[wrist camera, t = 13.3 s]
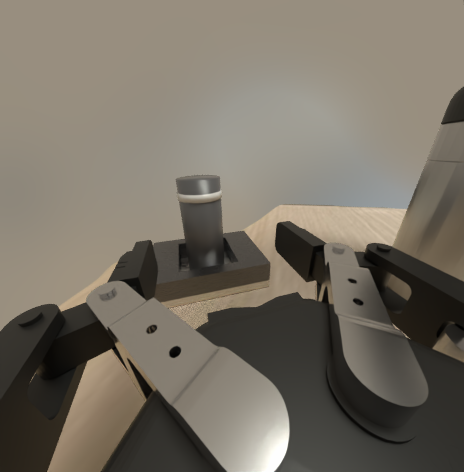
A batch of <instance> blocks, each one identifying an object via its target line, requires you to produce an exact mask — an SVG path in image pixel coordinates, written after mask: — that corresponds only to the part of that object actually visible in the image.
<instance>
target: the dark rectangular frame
mask: <svg viewBox="0 0 464 472" xmlns="http://www.w3.org/2000/svg"><path fill="white" fill-rule="evenodd" d="M223 245H224V263H225V264H221V265H215V266H210V267H204V268H198V269H192V270H190V268H189V262H188V255H187V249H186V242H185V239H180V240H173V241H166V242H159V243H154V246H153V249H154V252H155V256H156V260H157V265H158V276H157V283H156V289H155V295H154V298H155V299H156V300H158V301H159V302H160V303H162V304H163V305H164V306H165V307H167V308H171V307H176V306H180V305H185V304H190V303H194V302H199V301H204V300H208V299H213V298H218V297H222V296H227V295H232V294H236V293H241V292H246V291H250V290H255V289H260V288H264V287H269V276H270V262H269V261H268V260H267V258H266V257H265V256H264V255H263V254H262V252H261V251H260V250H259V249H258V248H257V246H256V245H255V244H254V243H253V242H252V240H251V239H250V238H249V237H248V235H247V234H246V233H245V232H244V231H239V232H232V233H224V234H223Z"/></svg>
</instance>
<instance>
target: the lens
mask: <svg viewBox="0 0 464 472" xmlns="http://www.w3.org/2000/svg"><path fill="white" fill-rule="evenodd" d="M176 184H177V190H178V191H177V196H178V201H179V203H180V209H181V216H182V222H183V229H184V236H185V242H186V249H187V255H188V262H189V268H190V270H192V269H198V268H204V267H210V266H215V265H221V264H225V263H224V245H223V229H222V228H223V227H222V210H221V197H222V195H221V194H222V193H221V189H220V177H219V176H214V175H196V176H186V177H180V178H177V179H176Z"/></svg>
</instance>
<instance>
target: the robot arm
mask: <svg viewBox="0 0 464 472" xmlns="http://www.w3.org/2000/svg"><path fill="white" fill-rule="evenodd" d="M441 124H442V125H441V126H440V129H439V131H438V133H437V136H436V139H435V141H434V144H433V146H432V148H431V151H430V154H429V156H428V160H427V161H426V164H425V166H424V169H423V171H422V174H421V176H420V179H419V181H418V184H417V186H416V189H415V191H414V194H413V196H412V199H411V201H410V204H409V206H408V209H407V211H406V214H405V216H404V219H403V221H402V224H401V226H400V229H399V231H398V234H397V236H396V239H395V241H394V244H393V246H392V247H391V246H388V245H385V244H379V243H371V244H368V245H367V247H366V250H365V252H354V251H353V249H352V248H350V247H349V246H347V245H344V244H340V243H325V242H324V241H322V240H321V239H319V238H317V237H316V236H314V235H313V234H311V233H309V232H308V231H306V230H305V229H302V228H299V227H298V226H296V225H295V224H293V223H292V222H290V221H286V222H279V223H278V224H277V227H276V239H275V247H276V250H277V252H278V253H279V254H280V255H281V256H282V257H283V258H284V259H285V260H286V261H287V262H288V263H289V264H290V266H291V267H292V268H293V269H294V270H295V271H296V272H297V273H298V274H299V275H300V276H301V277H302V278H303V279H304V280H305V281H306V282H310V281H314V280H316V286H315V300H312V299H303V298H302V297H301V296H300V295H299V293H298V292H296V293H292V294H288V295H283V296H279V297H276V298H274V299H272V300H270V301H268V302H267V303H265V304H263V305H261V306H259V307H245V308H229V309H224V310H220V311H216V312H212V313H208V314H207V315H208V322H207V323H205V324H203V325H201V326H200V327H198V328H197V329H196V330H195V329H193V328H192V327H191V326H190V325H188V324H187V323H186V322H184V321H183V320H182V319H181V318H179V317H178V316H177V315H176V314H174V313H173V312H172V311H170V310H169V309H168V308H167V307H165V306H164V305H163V304H162V303H160V302H159V301H158V300H156V299H155V298H154V295H155V289H156V283H157V276H158V265H157V260H156V256H155V252H154V249H153V245H152V242H151V240H147V241H140V242H136V244H135V246H134V248H133V251H129V252H126V253H125V254H124V255H123V256H122V257H121V258H120V259H119V261H118V264H117V265H116V267H115V269H114V271H113V273H112V275H111V277H110V278H109V280H108V282H107V283H105V284H103V285H101V286H99V287H97V288H96V289H94V290H93V291H92V292H91V293H90V294H89V295H88V296H87V298H86V302H85V303H83V304H81V305H78V306H75V307H73V308H70V309H67V310H65V311H62V312H61V311H60V309H59V308H58V306H57V305H55V304H46V305H41V306H38V307H35V308H32V309H30V310H28V311H26V312H24V313H22V314H21V315H19V316H17V317H16V318H14V319H13V320H12V321H10V322H9V323H8V324H7V325H6V326H5V327H4V328H3V329H2V330H1V331H0V472H47V470H48V468H49V465H50V462H51V459H52V457H53V454H54V451H55V448H56V446H57V443H58V440H59V437H60V435H61V432H62V429H63V426H64V424H65V421H66V418H67V416H68V413H69V410H70V407H71V405H72V402H73V399H74V396H75V394H76V391H77V388H78V385H79V383H80V380H81V377H82V374H83V372H84V369H85V366H86V363H87V361H88V360H90V359H92V358H94V357H96V356H98V355H100V354H102V353H104V352H106V351H108V350H110V349H111V351H112V352H113V354H114V355H115V356H116V358H117V359H118V361H119V362H120V364H121V365H122V366H123V368H124V369H125V371H126V372H127V373H128V375H129V376H130V378H131V379H132V381H133V382H134V384H135V386H136V387H137V389H138V391H139V392H140V394H141V396H142V397H143V399H144V400H145V403H144V405H143V406H142V408H141V410H140V411H139V413H138V414H137V416H136V417H135V419H134V421H133V422H132V424H131V425H130V427H129V428H128V430H127V431H126V433H125V435H124V436H123V438H122V439H121V441H120V442H119V444H118V446H117V447H116V449H115V450H114V452H113V453H112V455H111V457H110V458H109V460H108V461H107V463H106V464H105V466H104V467H103V469H102V471H101V472H464V87H463V88H461V89H460V90H459V91H458V92H457V93H456V94H455V95H454V96H453V98H452V99H451V101H450V103H449V105H448V108H447V110H446V113H445V115H444V118H443V121H442V123H441ZM387 286H388V287H387ZM390 288H391V289H392V290H391V289H390ZM407 300H408V301H407ZM392 323H393V324H394V325H395V326H396V327H397V328H399V329H400V330H401V331H402V332H403V333H404V334H406V335H407V336H408V337H409V338H410V339H409V338H406V337H405V335H404V334H403V333H402V332H401V331H400V330H397V329H395V328H394V326H393V324H392ZM35 372H36V373H35ZM34 374H35V375H34ZM33 376H34V377H33ZM32 377H33V379H32ZM31 379H32V380H31ZM30 381H31V382H30ZM29 383H30V384H29Z"/></svg>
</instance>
